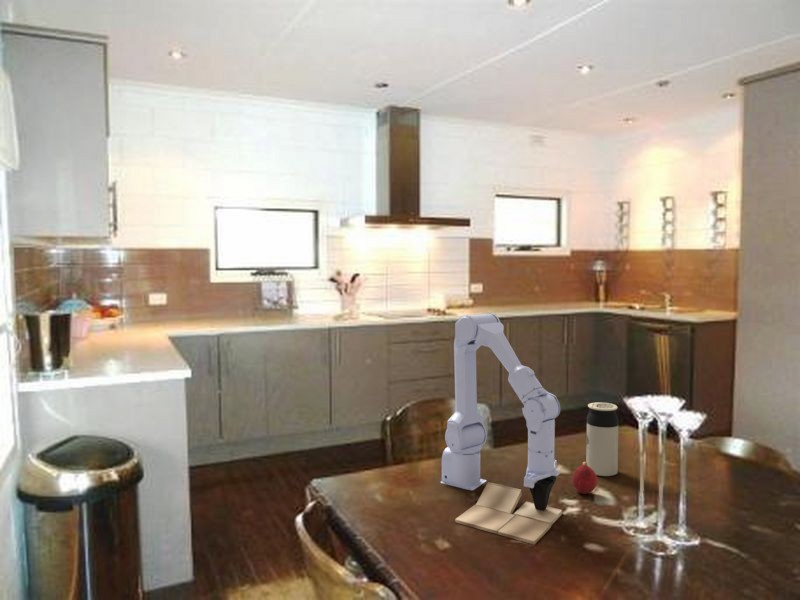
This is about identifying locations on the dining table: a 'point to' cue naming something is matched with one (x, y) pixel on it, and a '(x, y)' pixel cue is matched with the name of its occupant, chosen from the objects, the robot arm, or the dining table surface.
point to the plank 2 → (538, 513)
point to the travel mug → (602, 439)
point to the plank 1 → (499, 497)
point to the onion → (584, 479)
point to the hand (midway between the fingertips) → (540, 508)
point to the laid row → (504, 524)
